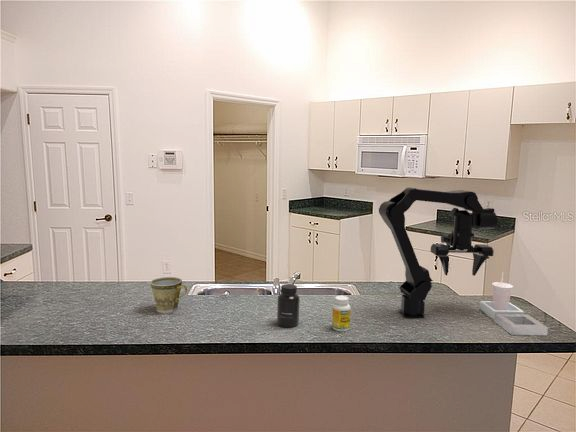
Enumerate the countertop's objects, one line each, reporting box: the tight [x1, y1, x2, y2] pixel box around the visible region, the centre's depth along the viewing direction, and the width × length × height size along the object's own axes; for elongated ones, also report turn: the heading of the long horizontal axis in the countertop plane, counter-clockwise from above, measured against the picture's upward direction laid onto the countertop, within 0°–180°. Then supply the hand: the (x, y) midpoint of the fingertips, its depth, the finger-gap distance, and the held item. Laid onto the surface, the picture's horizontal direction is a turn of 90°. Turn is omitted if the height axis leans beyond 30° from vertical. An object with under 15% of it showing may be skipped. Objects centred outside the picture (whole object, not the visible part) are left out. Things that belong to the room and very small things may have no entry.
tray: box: [479, 300, 525, 321], centre depth 137 cm, size 10×10×3 cm
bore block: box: [493, 313, 549, 336], centre depth 126 cm, size 10×10×2 cm
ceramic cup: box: [150, 276, 188, 315], centre depth 136 cm, size 13×10×10 cm
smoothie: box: [491, 271, 514, 311], centre depth 136 cm, size 6×6×14 cm
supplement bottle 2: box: [331, 295, 352, 332], centre depth 123 cm, size 5×5×10 cm
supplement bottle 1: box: [276, 283, 301, 329], centre depth 126 cm, size 7×7×12 cm
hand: (459, 275), depth 137 cm, fingers open, 9 cm apart
